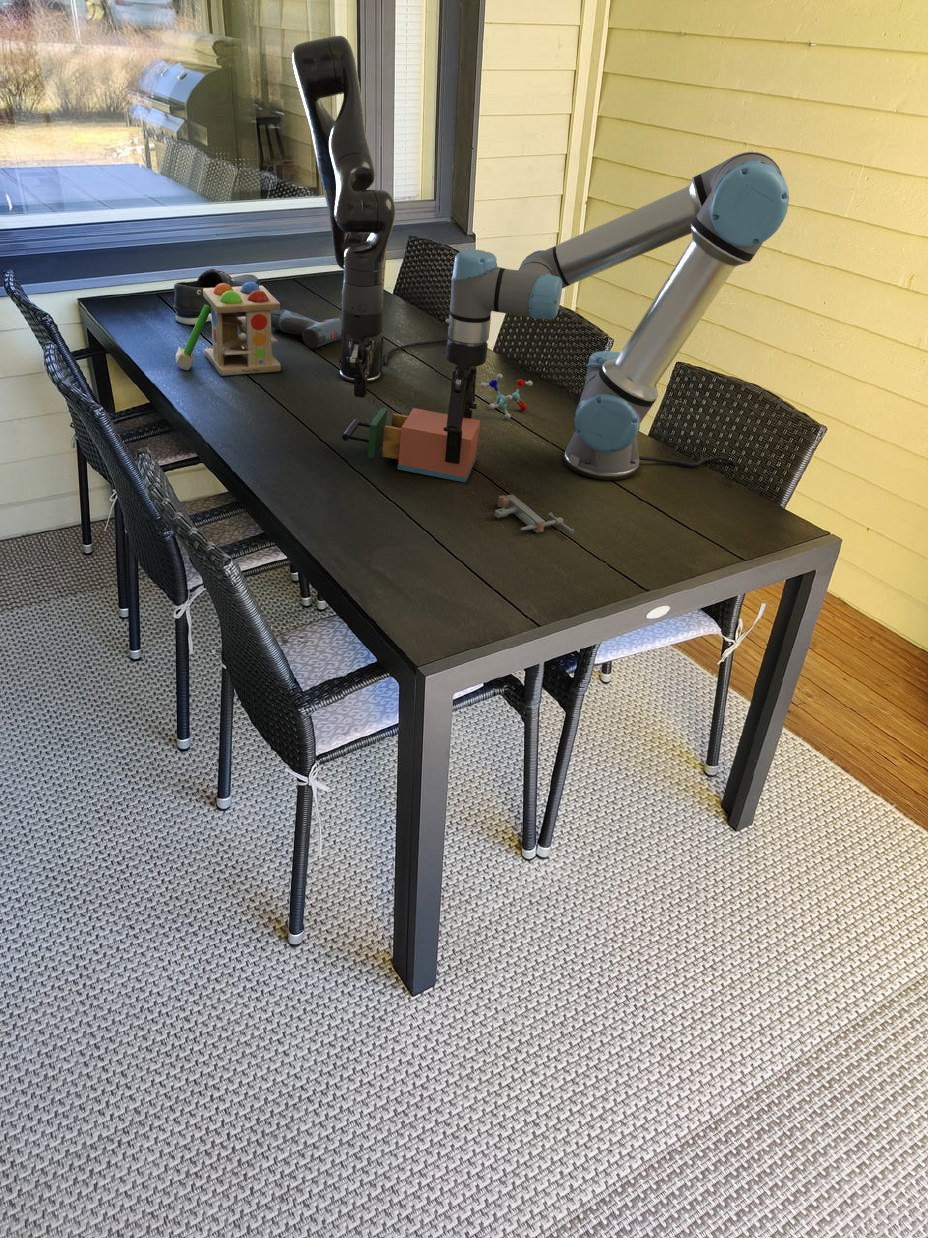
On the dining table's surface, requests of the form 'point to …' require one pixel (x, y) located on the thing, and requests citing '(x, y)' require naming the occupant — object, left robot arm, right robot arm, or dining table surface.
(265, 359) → the pounding bench toy
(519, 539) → the dining table surface
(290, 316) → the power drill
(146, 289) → the dining table surface
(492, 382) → the molecular model
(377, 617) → the dining table surface
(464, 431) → the cabinet
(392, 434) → the drawer
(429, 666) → the dining table surface
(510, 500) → the clamp
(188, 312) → the boat shoe
